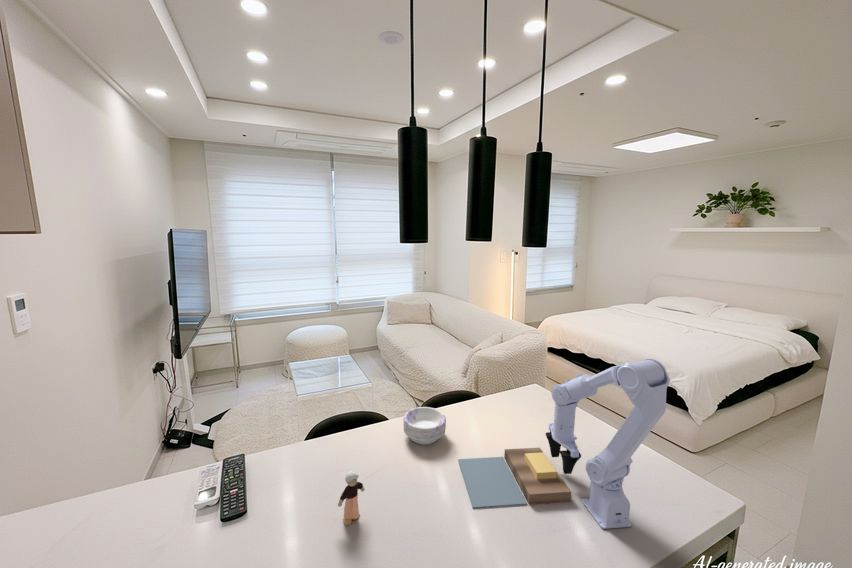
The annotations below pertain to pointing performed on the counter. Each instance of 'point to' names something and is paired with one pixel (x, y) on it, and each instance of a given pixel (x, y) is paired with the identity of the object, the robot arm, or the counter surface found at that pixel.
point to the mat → (490, 483)
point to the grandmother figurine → (351, 497)
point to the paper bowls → (424, 424)
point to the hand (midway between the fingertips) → (560, 464)
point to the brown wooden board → (529, 485)
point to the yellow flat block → (540, 466)
